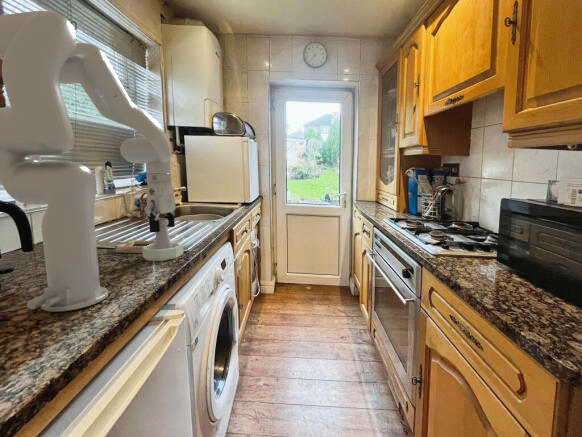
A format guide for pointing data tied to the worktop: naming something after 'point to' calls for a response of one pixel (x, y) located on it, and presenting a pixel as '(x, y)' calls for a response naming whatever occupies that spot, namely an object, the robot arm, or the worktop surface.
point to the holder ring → (162, 252)
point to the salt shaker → (162, 236)
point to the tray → (129, 249)
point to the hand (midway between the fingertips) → (162, 229)
